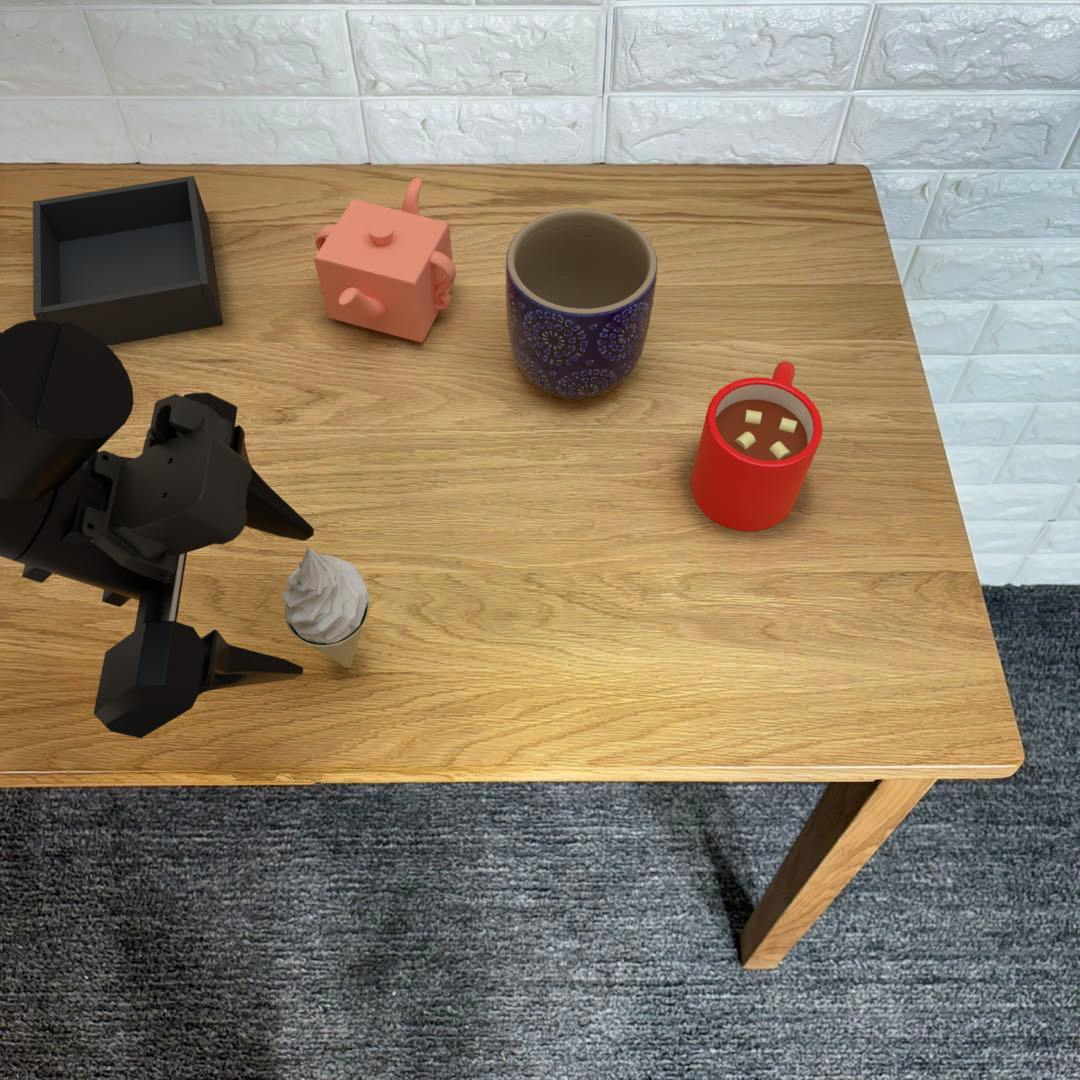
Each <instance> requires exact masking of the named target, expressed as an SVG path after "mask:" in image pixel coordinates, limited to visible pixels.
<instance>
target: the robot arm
mask: <svg viewBox="0 0 1080 1080" xmlns="http://www.w3.org/2000/svg"><path fill="white" fill-rule="evenodd" d="M133 408H134V388H133V385H132V381H131V378H130V375H129V373H128V371H127V370H126V368H125V365H124V364H123V362H122V360H121V359H120V358H119V357H118V356H117V355H116V353H115V352H114V351H113V350H112V348H111V347H109V345H106V344H105V343H103V342H102V341H101V340H100V339H99V338H98V337H96V336H95V335H93V334H91V333H90V332H88V331H86V330H85V329H83V328H81V327H79V326H77V325H74V324H72V323H70V322H64V323H58V322H53V321H49V320H37V319H30V320H26V321H21V322H17V323H15V324H14V325H11V326H10V327H9V328H7V329H5V330H4V331H3V332H1V331H0V557H1V558H4V559H7V560H11V561H13V562H16V563H19V564H23V570H22V574H21V578H24V579H28V580H31V581H34V582H37V583H40V584H43V583H44V582H45V581H46V580H47V579H49V577H51V576H52V575H53V574H54V575H57V576H60V577H63V578H67V579H70V580H73V581H76V582H79V583H82V584H85V585H88V586H91V587H94V588H98V589H101V590H103V592H102V598H101V603H105V604H108V605H111V606H114V607H118V608H121V607H122V606H124V605H125V604H127V603H128V602H129V601H130V600H131V599H132V600H134V601H139V602H138V606H137V611H136V618H135V623H134V630H133V631H132V632H130V633H129V634H128V635H126V636H125V637H124V638H123V639H121V640H120V641H119V642H117V643H116V644H114V645H113V646H112V647H110V648H109V649H107V650H106V651H105V652H104V657H103V662H102V666H101V667H102V668H101V672H100V677H99V683H98V688H97V693H96V698H95V702H94V703H95V704H94V709H93V715H94V716H95V717H96V718H97V720H99V721H100V722H101V723H102V724H103V726H104V727H106V729H108V731H110V732H111V733H114V734H115V733H116V734H118V735H119V734H121V735H124V736H128V737H133V738H137V739H143V738H144V737H146V736H148V735H150V734H152V733H153V732H154V731H156V730H158V729H160V728H161V727H163V726H165V725H166V724H168V723H170V722H171V721H173V720H175V719H176V718H178V717H181V715H184V714H185V713H186V712H188V711H190V710H191V709H193V708H194V705H195V703H196V702H197V700H198V698H199V696H200V695H202V694H204V693H208V692H211V691H216V690H222V689H229V688H237V687H243V686H244V687H245V686H253V685H260V684H269V683H277V682H284V681H292V680H295V679H297V678H299V677H301V676H303V674H304V667H303V666H302V665H300V664H297V663H295V662H292V661H290V660H288V659H286V658H282V657H278V656H274V655H270V654H266V653H263V652H259V651H255V650H251V649H247V648H243V647H240V646H236V645H232V644H230V643H228V642H227V641H226V639H225V638H224V637H223V636H222V634H221V633H220V632H219V631H218V630H217V629H213V630H211V631H209V632H207V633H206V634H205V635H204V636H202V637H200V635H199V634H198V632H197V631H196V629H195V628H194V626H192V625H188V624H184V623H181V622H178V615H179V608H180V601H181V594H182V588H183V582H184V575H185V569H186V563H187V557H188V553H191V552H194V551H196V550H200V549H203V548H207V547H209V546H212V545H224V544H227V543H230V542H232V541H234V540H235V539H236V538H238V537H239V536H240V535H241V533H242V532H243V530H244V529H245V527H246V528H250V529H254V530H257V531H260V532H262V533H263V532H264V533H267V534H270V535H271V534H272V535H273V536H277V537H281V538H286V539H290V540H291V539H292V540H297V541H302V542H303V541H305V542H306V541H308V540H309V539H311V538H312V537H313V536H314V535H315V529H314V527H313V525H311V524H310V523H309V522H308V521H307V520H305V519H304V518H303V517H302V515H300V514H299V513H298V512H297V511H296V510H295V509H294V508H293V507H292V506H291V505H290V504H288V503H287V502H286V500H285V499H284V498H282V497H281V496H280V495H279V494H278V493H277V492H276V491H275V490H274V489H273V488H272V487H271V486H270V485H268V483H266V481H265V480H264V479H263V478H262V477H261V476H260V475H259V474H258V472H257V471H256V470H255V469H254V467H253V466H252V464H251V463H250V458H249V455H248V450H247V447H246V441H245V440H246V433H245V430H244V428H243V426H241V425H240V424H238V425H236V424H237V423H236V422H237V415H238V408H239V407H238V406H236V405H235V404H234V403H231V402H229V401H227V400H225V399H224V398H221V397H219V396H217V395H215V394H213V393H210V392H192V393H185V394H184V395H183V396H182V395H181V394H177V393H174V394H171V395H168V396H166V397H164V398H161V399H159V400H156V401H155V403H154V406H153V411H152V417H151V422H150V428H148V429H147V433H146V437H145V439H144V442H143V447H142V452H141V454H140V455H138V456H136V457H130V456H129V457H128V456H120V455H117V454H114V453H112V452H109V451H107V450H100V449H101V448H102V447H103V446H104V445H105V444H106V443H107V442H108V441H109V440H110V439H111V438H112V437H113V436H114V435H115V434H116V433H118V431H119V430H120V429H121V428H122V427H124V425H125V424H126V422H127V421H128V419H129V418H130V417H131V414H132V411H133ZM99 450H100V451H99Z"/></svg>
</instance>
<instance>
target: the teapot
mask: <svg viewBox="0 0 1080 1080" xmlns="http://www.w3.org/2000/svg"><path fill="white" fill-rule="evenodd" d="M422 184H423V180H422V178H421V177H419V176H418V177H414V178H413V179H412V180H411V181H409V184H408V186H407V188H406V191H405V194H404V198H403V201H402V205H401V209H400V210H399V209H396V208H395V209H394V208H391V207H387V206H383V205H379V204H374V203H370V202H367V201H363V200H357V199H352V200H351V202H350V203H349V205H348V206H347V207H346V209H345V211H344V212H343V213H342V215H341V217H340V218H339V219H338V221H337V222H336V224H335V225H333V224H330V225H325V226H323V227H322V228H320V229H319V230H318V231H317V234H316V236H315V239H314V244H315V247H316V249H317V251H318V252H317V253H316V255H315V256H314V258H313V261H314V265H315V269H316V273H317V277H318V282H319V286H320V290H321V296H322V299H323V302H324V307H325V311H326V315H327V316H326V317H327V318H329V319H332V320H336V321H339V322H344V323H348V324H350V325H354V326H358V327H362V328H366V329H369V330H371V331H376V332H380V333H384V334H387V335H391V336H395V337H398V338H399V337H400V338H403V339H407V340H410V341H414V342H418V343H421V344H422V343H423V342H424V340H425V339H426V336H427V335H428V333H429V331H430V330H431V327H432V326H433V324H434V322H435V320H436V318H437V317H438V315H439V313H440V311H445V310H446V309H448V308H449V307H450V306H451V304H452V297H451V295H450V292H451V290H452V289H453V286H454V285H455V279H456V277H457V268H456V265H455V263H454V262H453V252H452V251H453V250H452V240H451V239H452V238H451V227H450V225H451V224H450V223H449V222H446V221H442V220H439V219H434V218H431V217H427V216H423V215H421V214H420V207H419V205H420V204H419V199H420V192H421V189H422Z"/></svg>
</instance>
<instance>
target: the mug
mask: <svg viewBox="0 0 1080 1080" xmlns="http://www.w3.org/2000/svg"><path fill="white" fill-rule="evenodd" d="M795 375H796V368H795V365H794V364H793V363H792V362H790V361H788V360H787V361H786V360H785V361H784V360H783V361H781V362H779V363H777V365H776V367H775V368H774V370H773V375H772V377H770V378H769V377H761V376H760V377H759V376H752V377H745V378H740V379H737V380H734V381H732V382H729V383H728V384H726V385H724V386H723V387H722V388H721V389H719V390H718V391H717V392H716V393H715V394H714V396H713V397H712V398H711V400H710V402H709V403H708V406H707V410H706V415H705V418H704V422H703V426H702V430H701V433H700V438H699V442H698V447H697V451H696V455H695V459H694V464H693V466H692V467H693V468H692V472H691V475H690V490H691V493H692V497H693V499H694V501H695V503H696V505H697V506H698V507H699V509H700V510H701V511H702V513H703V514H705V516H706V517H709V519H710V520H712V521H714V522H716V523H717V524H719V525H720V526H723V527H725V528H728V529H731V530H737V531H741V532H757V531H763V530H767V529H770V528H773V527H774V526H776V525H778V524H780V523H781V522H783V521H784V520H785V519H786V518H787V517H788V516H789V515H790V513H791V512H792V511H793V509H794V506H795V504H796V502H797V499H798V497H799V495H800V492H801V489H802V487H803V485H804V482H805V479H806V477H807V475H808V473H809V470H810V468H811V465H812V463H813V460H814V458H815V456H816V453H817V451H818V448H819V446H820V443H821V441H822V438H823V431H824V427H823V420H822V417H821V414H820V410H819V409H818V408H817V405H815V403H814V402H813V400H812V399H810V397H809V396H808V395H807V394H806V393H804V392H803V391H801V389H799V388H797V387H795V386H794V385H793V382H794V379H795V378H794V377H795Z"/></svg>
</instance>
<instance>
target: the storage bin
mask: <svg viewBox="0 0 1080 1080" xmlns="http://www.w3.org/2000/svg"><path fill="white" fill-rule="evenodd" d="M32 272H33V273H32V289H33V291H32V292H33V293H32V295H33V298H32V300H33V309H32V311H33V315H34V317H35V320H49V321H53V322H58V323H64V322H70V323H72V324H74V325H77V326H79V327H81V328H83V329H85V330H86V331H88V332H90V333H91V334H93V335H95V336H96V337H98V338H99V339H100V340H101V341H102V342H103V343H105V344H106V345H107V346H110V345H111V346H112V345H116V344H122V343H127V342H133V341H138V340H139V341H140V340H144V339H150V338H156V337H161V336H167V335H173V334H177V333H182V332H188V331H194V330H200V329H204V328H205V329H206V328H210V327H215V326H221V325H224V322H223V315H222V308H221V307H222V306H221V300H220V292H219V285H218V279H217V278H218V277H217V272H216V265H215V257H214V250H213V243H212V236H211V229H210V222H209V217H208V213H207V211H206V208H205V204H204V202H203V199H202V196H201V193H200V191H199V187H198V185H197V182H196V179H195V175H188V176H183V177H175V178H170V179H164V180H158V181H151V182H145V183H140V184H132V185H126V186H119V187H114V188H109V189H101V190H96V191H88V192H83V193H76V194H70V195H63V196H57V197H51V198H45V199H38V200H33V201H32Z"/></svg>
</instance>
